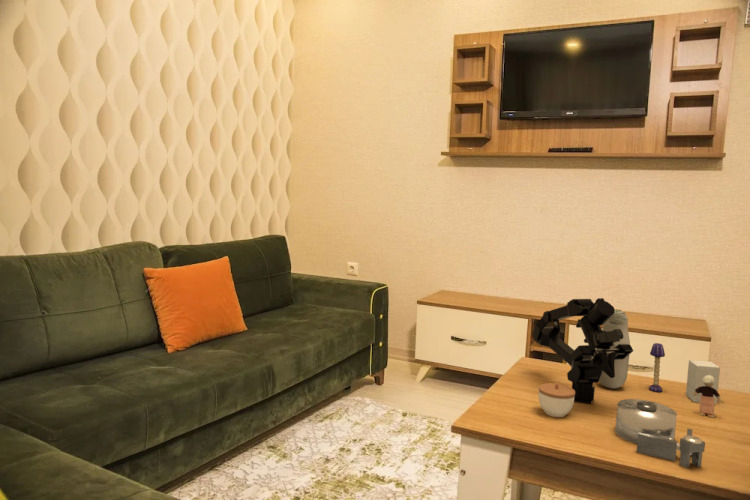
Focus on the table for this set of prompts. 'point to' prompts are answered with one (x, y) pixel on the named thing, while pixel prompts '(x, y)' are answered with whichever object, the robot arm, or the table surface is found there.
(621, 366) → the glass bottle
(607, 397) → the table surface
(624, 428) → the cover
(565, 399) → the lidded jar
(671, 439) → the dial plunger
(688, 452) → the centering jig
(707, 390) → the grandmother figurine
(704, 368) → the supplement box
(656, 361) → the toy lamp
